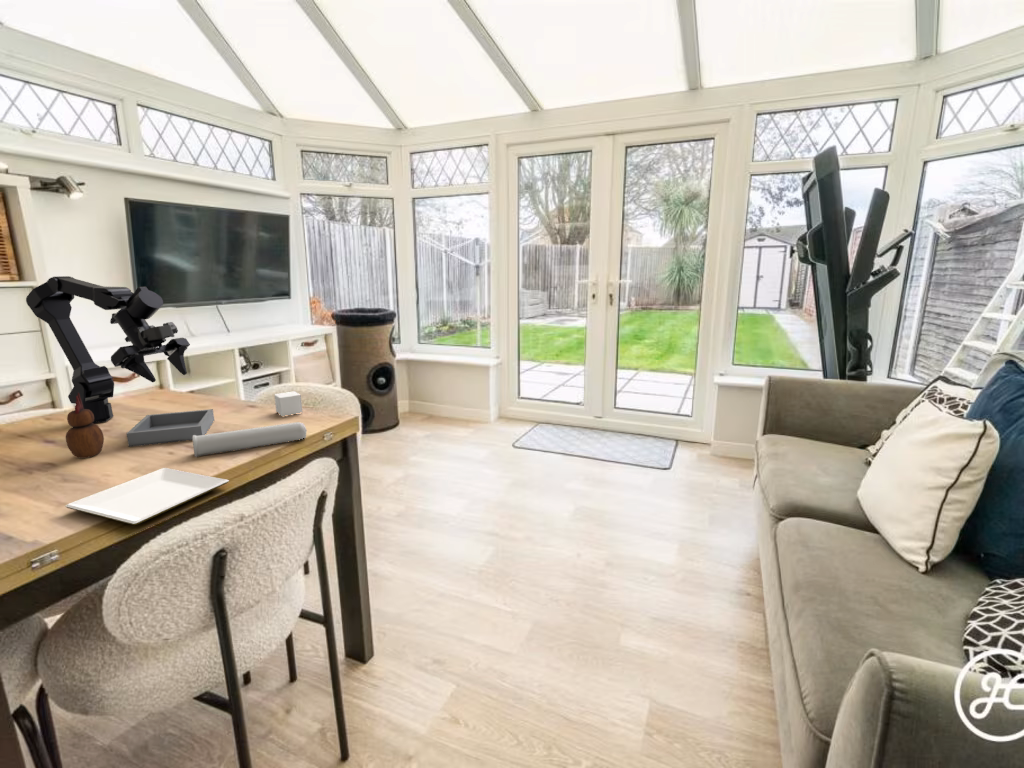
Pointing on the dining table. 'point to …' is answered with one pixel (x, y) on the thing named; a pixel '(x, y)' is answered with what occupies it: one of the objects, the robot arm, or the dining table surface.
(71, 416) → the wooden figurine
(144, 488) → the plate
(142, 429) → the box
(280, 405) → the light grey cube
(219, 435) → the tube
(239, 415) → the dining table surface
